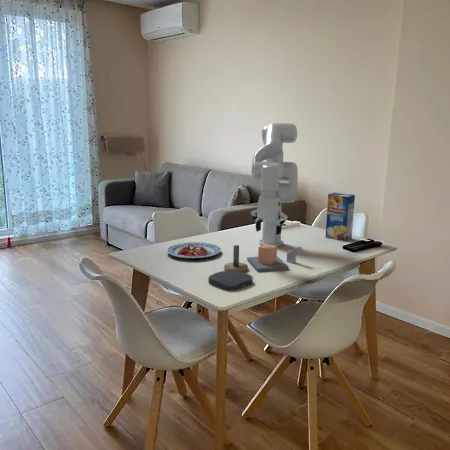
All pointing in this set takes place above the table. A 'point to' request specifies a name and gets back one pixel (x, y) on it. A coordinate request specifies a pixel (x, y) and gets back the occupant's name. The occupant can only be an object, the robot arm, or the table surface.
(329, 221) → the juice carton
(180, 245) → the ceramic plate
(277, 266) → the mat
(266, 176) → the robot arm
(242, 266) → the round pedestal stand
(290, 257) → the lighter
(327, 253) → the table surface
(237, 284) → the media streaming box
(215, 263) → the table surface
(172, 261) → the table surface
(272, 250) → the peach cube block
